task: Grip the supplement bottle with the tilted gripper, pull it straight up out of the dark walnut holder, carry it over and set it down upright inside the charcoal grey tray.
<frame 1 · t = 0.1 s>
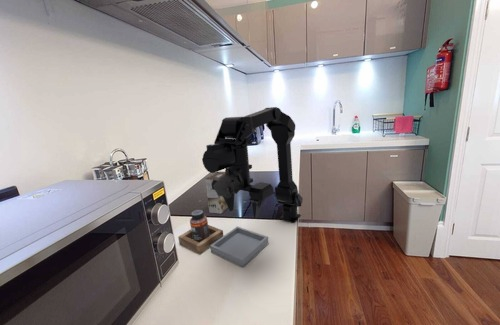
hand: (243, 214, 67), 15 cm above the worktop, tool pointing down, fingers open, 9 cm apart
coffee box: (220, 209, 105), on the worktop
grey tray: (240, 247, 75), on the worktop
supplement bottle: (201, 241, 81), resting in walnut holder
walnut holder: (201, 240, 81), on the worktop
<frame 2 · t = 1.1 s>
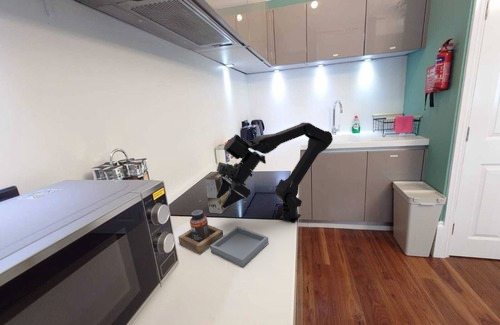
hand: (220, 202, 80), 13 cm above the worktop, tool tilted 45°, fingers open, 9 cm apart
nothing on the worktop moved.
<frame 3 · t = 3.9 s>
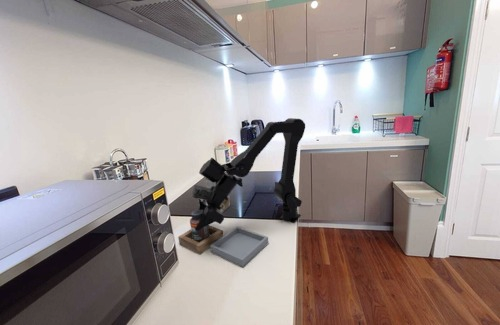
hand: (195, 225, 79), 7 cm above the worktop, tool tilted 45°, fingers closed on supplement bottle, 6 cm apart
supplement bottle: (201, 241, 81), resting in walnut holder, touching gripper
everything else where it was.
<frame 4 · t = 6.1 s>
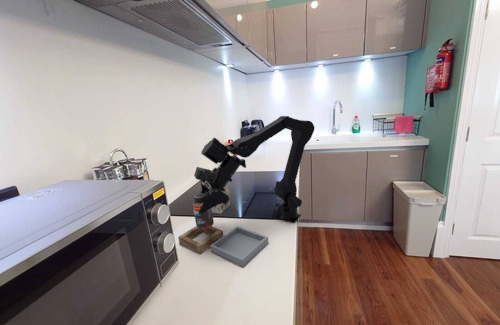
hand: (198, 209, 76), 13 cm above the worktop, tool tilted 45°, fingers closed on supplement bottle, 6 cm apart
supplement bottle: (205, 226, 78), point 6 cm above the worktop, touching gripper
everything else where it was.
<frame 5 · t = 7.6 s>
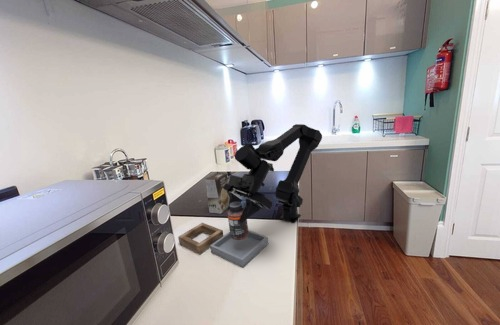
hand: (234, 219, 72), 11 cm above the worktop, tool tilted 45°, fingers closed on supplement bottle, 6 cm apart
supplement bottle: (239, 236, 74), point 4 cm above the worktop, touching gripper
everything else where it was.
when the fingers open (8 cm above the worktop, at t = 8.6 s): supplement bottle drops 1 cm, resting on grey tray.
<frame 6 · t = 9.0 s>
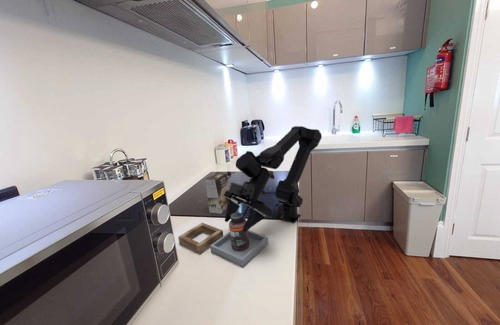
hand: (234, 226, 72), 9 cm above the worktop, tool tilted 45°, fingers open, 9 cm apart
supplement bottle: (240, 246, 75), resting on grey tray
everything else where it was.
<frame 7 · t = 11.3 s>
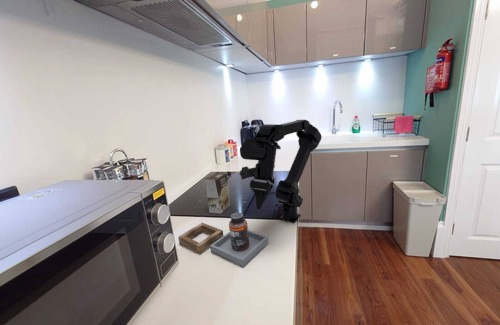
hand: (260, 205, 78), 11 cm above the worktop, tool tilted 15°, fingers open, 9 cm apart
nothing on the worktop moved.
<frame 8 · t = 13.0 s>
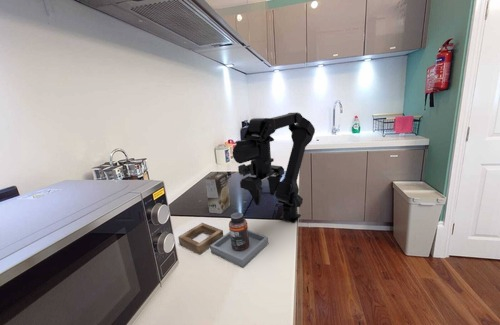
hand: (265, 199, 79), 13 cm above the worktop, tool pointing down, fingers open, 9 cm apart
nothing on the worktop moved.
at the end: supplement bottle inside the target area on the grey tray (0.2 cm from its centre), point 0.4 cm above the grey tray's base; supplement bottle tilted 0°; the gripper is holding nothing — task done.
